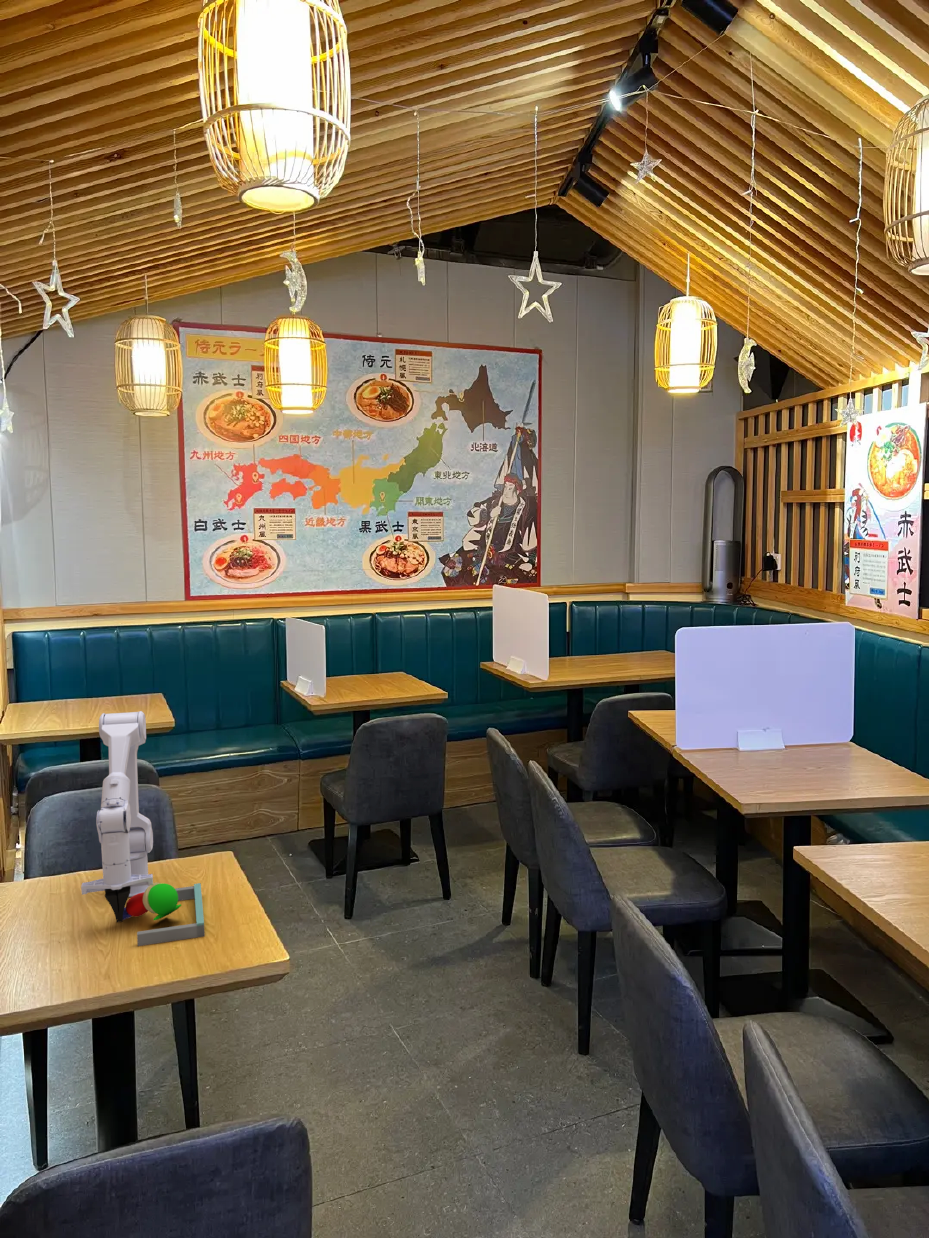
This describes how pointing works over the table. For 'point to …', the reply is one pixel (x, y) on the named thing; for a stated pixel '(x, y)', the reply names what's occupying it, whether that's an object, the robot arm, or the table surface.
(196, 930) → the bay
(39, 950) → the table surface
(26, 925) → the table surface
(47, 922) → the table surface
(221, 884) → the table surface
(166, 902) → the toy
